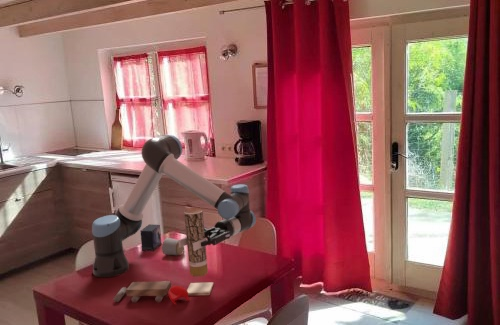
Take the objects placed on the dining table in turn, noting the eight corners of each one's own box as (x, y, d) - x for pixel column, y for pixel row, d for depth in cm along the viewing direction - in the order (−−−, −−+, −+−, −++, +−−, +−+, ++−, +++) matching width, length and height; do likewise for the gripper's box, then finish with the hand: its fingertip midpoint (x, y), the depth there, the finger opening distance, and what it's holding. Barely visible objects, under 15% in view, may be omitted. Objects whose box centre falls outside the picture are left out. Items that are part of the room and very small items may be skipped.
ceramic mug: (177, 258, 216) (176, 241, 215) (162, 256, 219) (161, 240, 218) (188, 250, 226) (187, 234, 224) (173, 249, 229) (172, 233, 227)
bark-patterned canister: (200, 278, 175) (194, 213, 170) (186, 275, 178) (180, 212, 174) (211, 271, 180) (206, 208, 176) (197, 269, 184) (191, 207, 180)
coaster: (185, 295, 176) (185, 293, 176) (190, 285, 185) (190, 282, 185) (209, 295, 175) (209, 292, 175) (213, 284, 184) (213, 282, 184)
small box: (154, 251, 226) (152, 230, 225) (141, 251, 228) (139, 230, 226) (162, 244, 237) (160, 224, 235) (150, 244, 238) (148, 224, 236)
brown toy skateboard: (113, 303, 174) (111, 290, 173) (121, 292, 182) (120, 281, 181) (166, 302, 172) (165, 289, 171) (172, 291, 180) (171, 279, 180)
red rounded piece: (166, 299, 167) (180, 290, 166) (164, 287, 172) (178, 278, 171) (179, 311, 171) (193, 302, 171) (178, 299, 176) (191, 290, 176)
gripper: (246, 240, 185) (206, 259, 168) (210, 233, 198) (169, 250, 180) (245, 222, 184) (205, 239, 166) (208, 216, 196) (167, 231, 179)
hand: (186, 245), depth 173 cm, fingers closed on bark-patterned canister, 7 cm apart
